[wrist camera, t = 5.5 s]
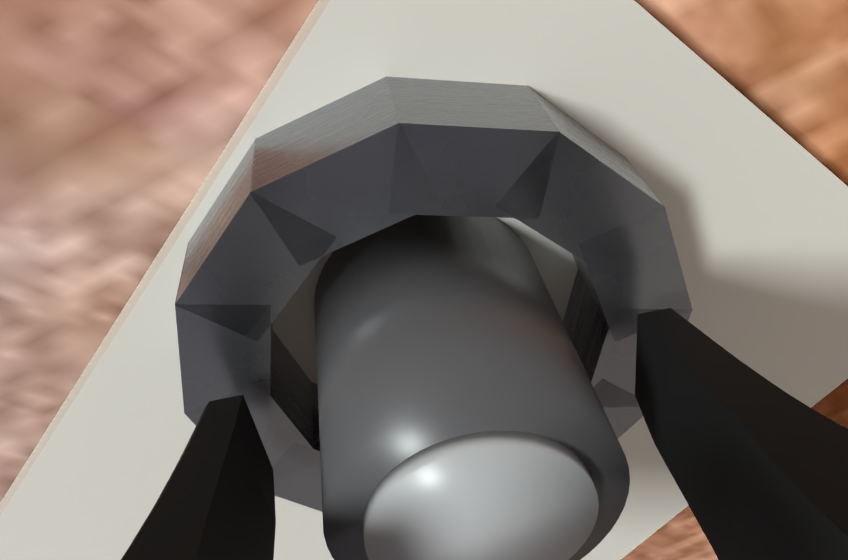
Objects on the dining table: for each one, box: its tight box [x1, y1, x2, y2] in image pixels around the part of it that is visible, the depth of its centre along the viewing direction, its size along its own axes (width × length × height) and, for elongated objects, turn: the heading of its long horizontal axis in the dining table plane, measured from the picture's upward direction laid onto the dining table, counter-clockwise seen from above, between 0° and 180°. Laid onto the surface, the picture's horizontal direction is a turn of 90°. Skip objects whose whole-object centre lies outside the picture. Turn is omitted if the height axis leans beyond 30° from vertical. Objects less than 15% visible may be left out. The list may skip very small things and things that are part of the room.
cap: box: [314, 215, 630, 560], centre depth 14 cm, size 5×5×6 cm
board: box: [0, 0, 848, 560], centre depth 19 cm, size 20×16×1 cm
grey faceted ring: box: [175, 76, 693, 512], centre depth 15 cm, size 10×10×2 cm
